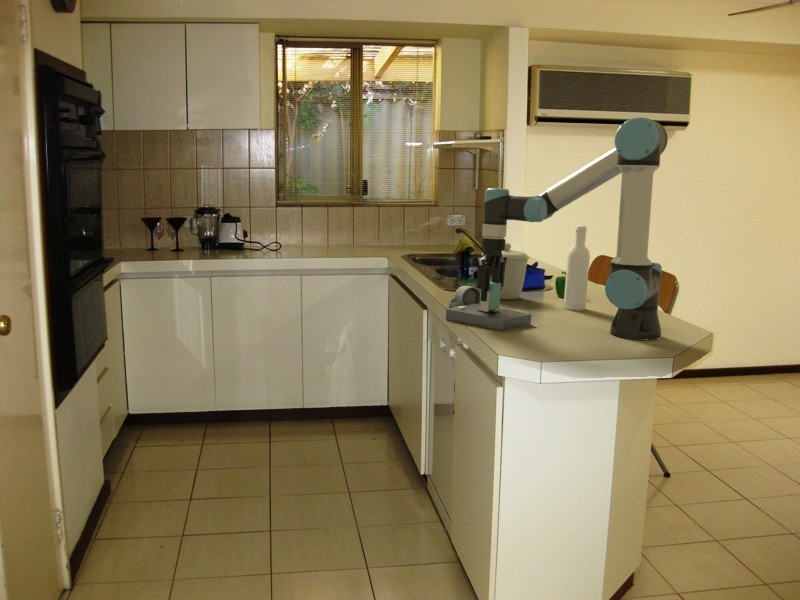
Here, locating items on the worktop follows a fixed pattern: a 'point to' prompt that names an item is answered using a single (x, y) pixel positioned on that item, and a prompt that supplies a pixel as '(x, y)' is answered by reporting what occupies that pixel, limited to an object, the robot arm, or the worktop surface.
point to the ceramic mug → (465, 296)
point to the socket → (488, 317)
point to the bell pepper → (560, 285)
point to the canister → (513, 273)
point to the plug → (493, 295)
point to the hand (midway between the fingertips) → (488, 310)
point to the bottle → (577, 272)
